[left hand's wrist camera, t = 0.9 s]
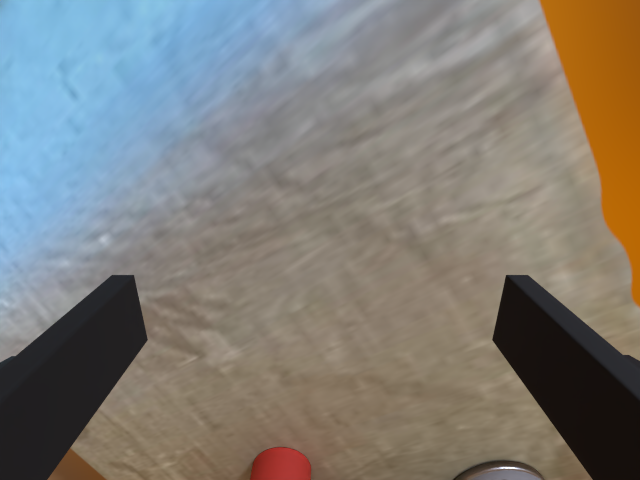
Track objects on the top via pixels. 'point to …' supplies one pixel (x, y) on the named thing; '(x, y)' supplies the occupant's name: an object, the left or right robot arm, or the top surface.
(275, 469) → the can
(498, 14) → the top surface
